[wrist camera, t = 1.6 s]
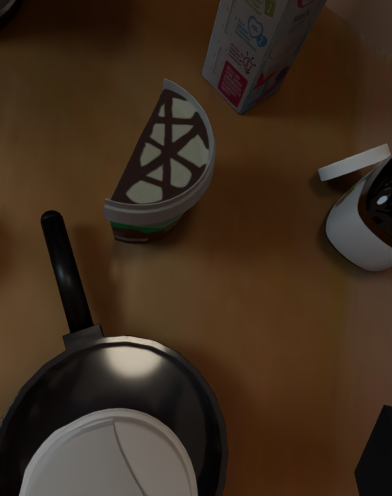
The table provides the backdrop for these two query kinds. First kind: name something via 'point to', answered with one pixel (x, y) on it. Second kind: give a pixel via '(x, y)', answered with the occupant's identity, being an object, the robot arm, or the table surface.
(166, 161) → the food container
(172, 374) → the pan
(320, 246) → the table surface
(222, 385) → the table surface
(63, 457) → the paper cup
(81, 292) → the pan handle
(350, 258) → the spread jar
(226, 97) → the juice carton
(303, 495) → the table surface
